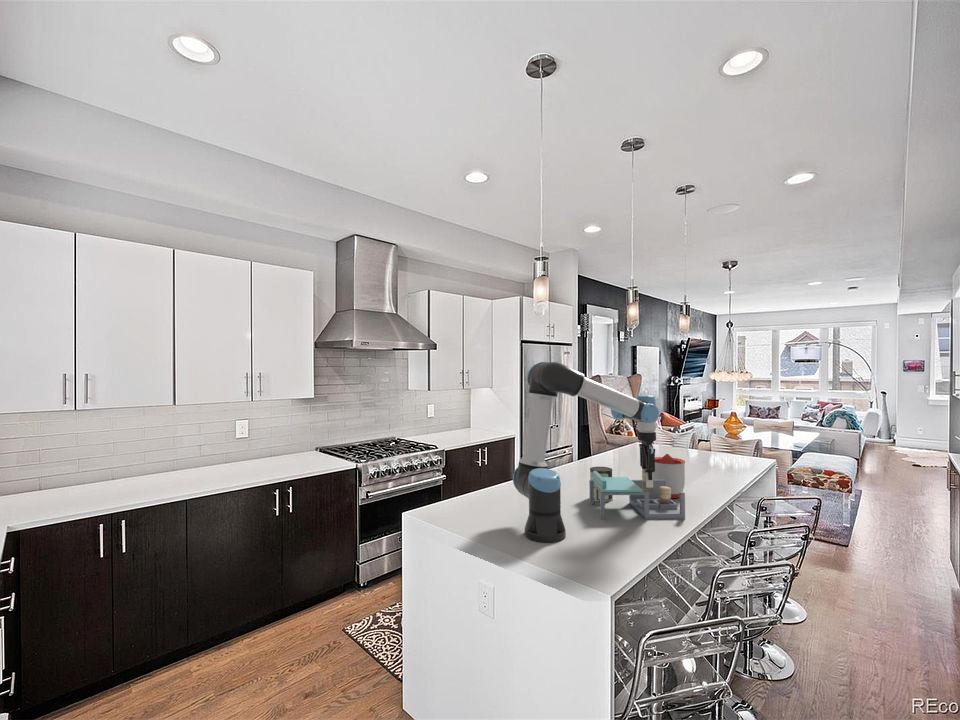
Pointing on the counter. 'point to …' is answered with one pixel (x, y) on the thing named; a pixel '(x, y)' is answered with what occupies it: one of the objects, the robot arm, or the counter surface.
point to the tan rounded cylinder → (645, 482)
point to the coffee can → (604, 473)
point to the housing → (646, 502)
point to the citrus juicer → (670, 473)
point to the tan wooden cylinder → (665, 495)
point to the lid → (615, 484)
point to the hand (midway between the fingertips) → (647, 485)
